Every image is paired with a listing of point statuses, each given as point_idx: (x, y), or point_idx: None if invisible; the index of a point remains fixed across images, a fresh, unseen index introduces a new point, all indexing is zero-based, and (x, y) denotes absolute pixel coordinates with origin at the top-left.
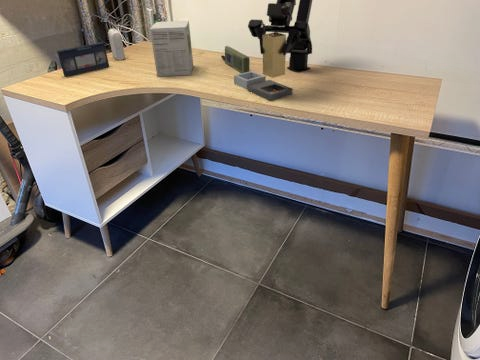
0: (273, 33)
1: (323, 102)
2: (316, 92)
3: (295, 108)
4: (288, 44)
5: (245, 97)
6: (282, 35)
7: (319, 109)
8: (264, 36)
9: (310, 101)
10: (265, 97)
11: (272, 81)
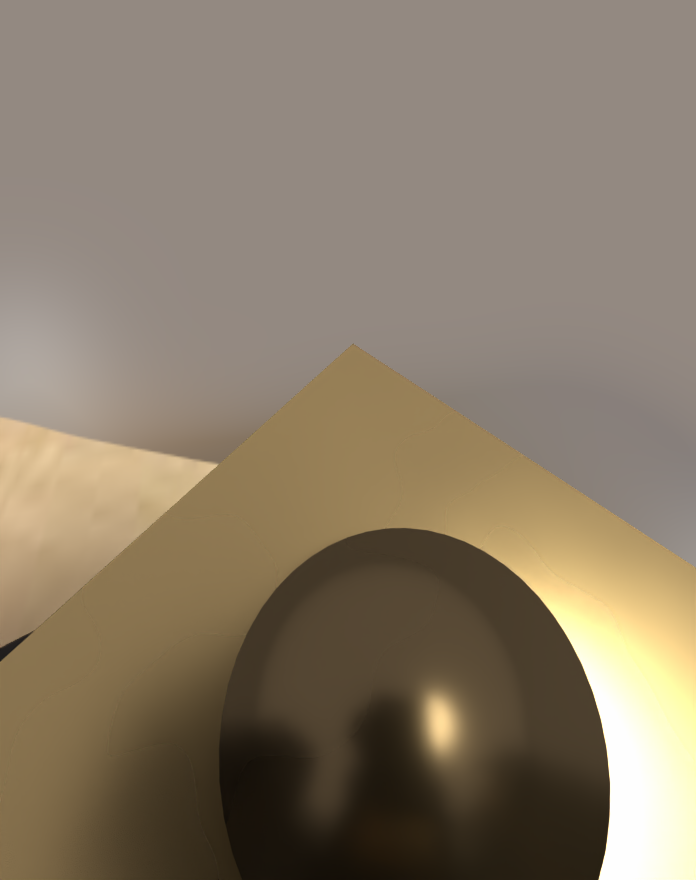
0: (498, 876)
1: (9, 576)
2: None
3: (184, 465)
4: (19, 643)
5: None
6: (57, 618)
7: (60, 472)
8: (678, 587)
9: (90, 577)
10: None
11: None
